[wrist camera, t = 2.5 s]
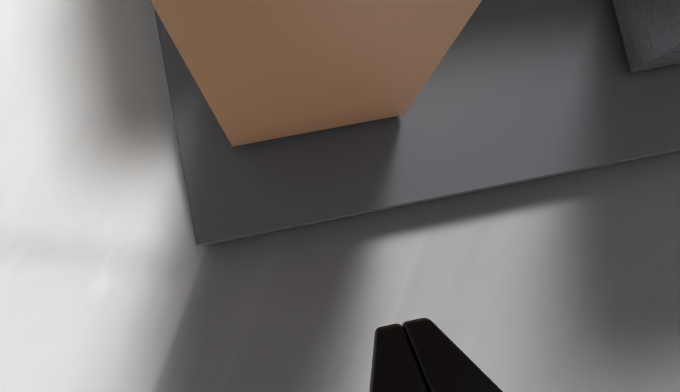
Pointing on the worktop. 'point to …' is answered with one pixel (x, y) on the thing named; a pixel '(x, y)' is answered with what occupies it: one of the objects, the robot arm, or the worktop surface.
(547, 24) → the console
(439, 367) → the robot arm
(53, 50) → the worktop surface
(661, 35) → the light grey block
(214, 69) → the tan rectangular block
